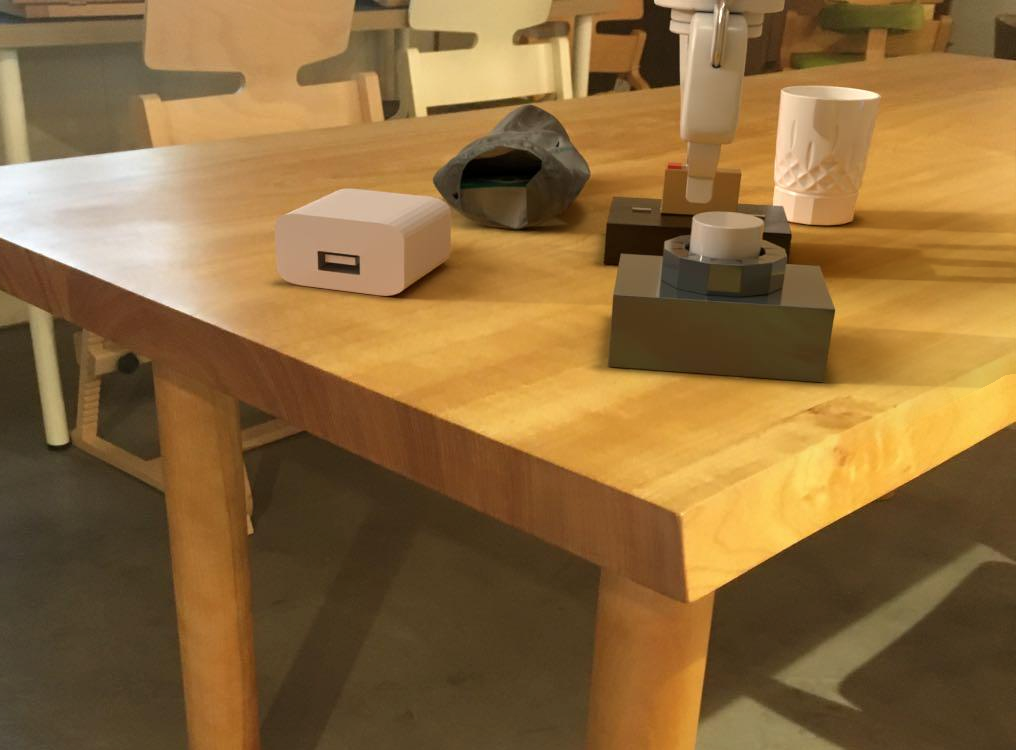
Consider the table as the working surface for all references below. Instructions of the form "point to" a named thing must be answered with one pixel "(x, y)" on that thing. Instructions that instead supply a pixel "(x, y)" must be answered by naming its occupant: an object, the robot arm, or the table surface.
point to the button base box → (721, 314)
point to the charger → (363, 241)
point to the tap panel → (673, 227)
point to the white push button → (726, 235)
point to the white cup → (822, 151)
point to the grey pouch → (515, 172)
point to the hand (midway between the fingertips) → (697, 187)
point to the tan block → (677, 203)
